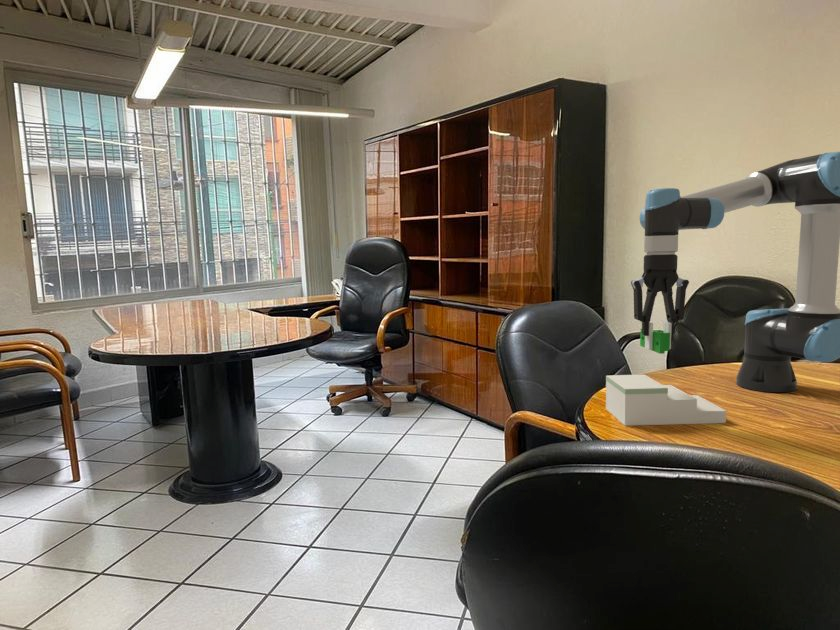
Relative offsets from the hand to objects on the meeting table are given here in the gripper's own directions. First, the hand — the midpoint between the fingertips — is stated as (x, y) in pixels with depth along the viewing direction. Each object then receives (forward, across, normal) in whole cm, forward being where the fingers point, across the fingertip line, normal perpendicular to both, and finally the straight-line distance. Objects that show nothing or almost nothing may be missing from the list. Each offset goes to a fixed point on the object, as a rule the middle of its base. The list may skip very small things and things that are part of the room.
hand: (657, 348), depth 134 cm
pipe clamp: (+1, 0, 0) cm, 1 cm away
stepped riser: (+17, -2, 0) cm, 17 cm away
